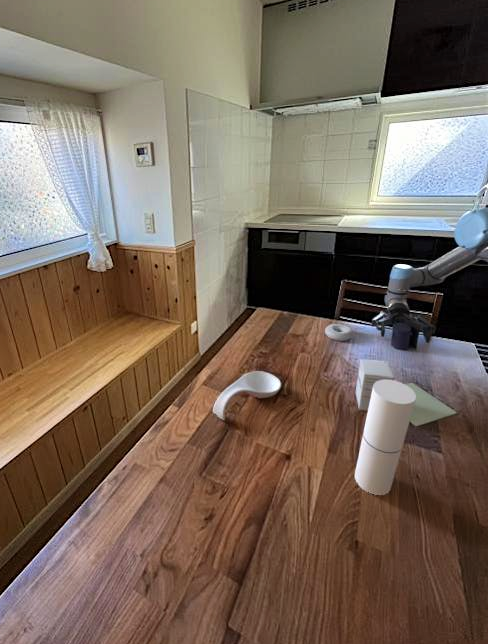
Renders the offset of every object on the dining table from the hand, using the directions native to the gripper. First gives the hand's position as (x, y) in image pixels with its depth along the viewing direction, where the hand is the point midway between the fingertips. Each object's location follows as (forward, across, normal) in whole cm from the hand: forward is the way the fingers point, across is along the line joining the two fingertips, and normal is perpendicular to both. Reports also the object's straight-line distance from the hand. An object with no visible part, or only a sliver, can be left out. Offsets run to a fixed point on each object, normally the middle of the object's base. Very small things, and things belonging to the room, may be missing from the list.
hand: (405, 336), depth 117 cm
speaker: (-2, 0, -6) cm, 7 cm away
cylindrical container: (+60, +12, -6) cm, 62 cm away
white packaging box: (+33, +12, -6) cm, 36 cm away
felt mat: (+29, 0, -6) cm, 30 cm away
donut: (-4, +21, -6) cm, 22 cm away
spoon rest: (+44, +45, -6) cm, 63 cm away
